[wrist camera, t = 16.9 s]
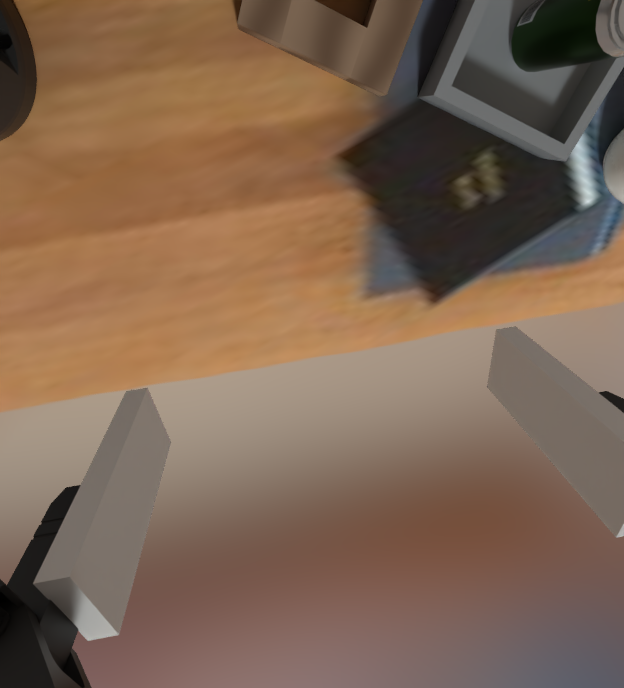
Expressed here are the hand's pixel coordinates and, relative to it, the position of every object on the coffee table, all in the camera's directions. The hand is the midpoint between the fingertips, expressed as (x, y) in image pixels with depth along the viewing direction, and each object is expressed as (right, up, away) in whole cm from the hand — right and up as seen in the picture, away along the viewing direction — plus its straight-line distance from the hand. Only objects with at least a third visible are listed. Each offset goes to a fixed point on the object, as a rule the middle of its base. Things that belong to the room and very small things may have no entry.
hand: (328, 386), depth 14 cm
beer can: (+20, +30, +21) cm, 42 cm away
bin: (+20, +31, +22) cm, 43 cm away
